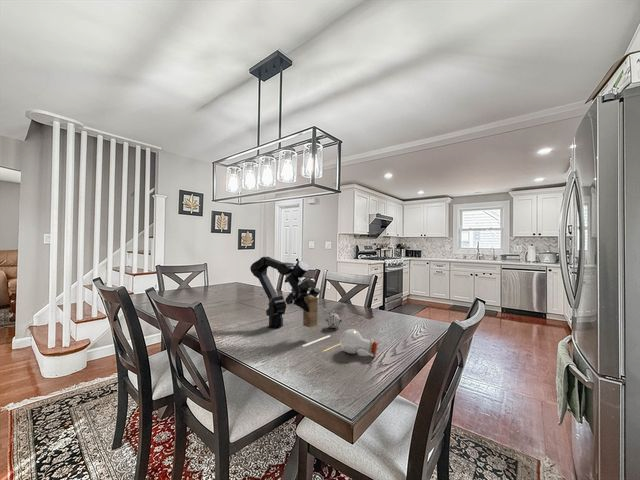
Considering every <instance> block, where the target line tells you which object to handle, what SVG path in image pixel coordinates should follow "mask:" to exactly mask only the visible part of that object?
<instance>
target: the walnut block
mask: <svg viewBox="0 0 640 480" xmlns="http://www.w3.org/2000/svg"><path fill="white" fill-rule="evenodd" d="M304 301H305V303H306V305H307V307H308V309H309V312H307V311H305V310H304V309H302V311H303V313H302V325H303V326H304V327H306V328H312V327H313V328H314V327H316V326H318V297H314V296H307V297H304Z"/></svg>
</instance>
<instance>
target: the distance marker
mask: <svg viewBox="0 0 640 480" xmlns="http://www.w3.org/2000/svg"><path fill="white" fill-rule="evenodd" d="M338 346H341V345H340V342H339V343H337V344H335V345H333V346H330V347H329V348H326V349H323V350H322V352H325V353H326V351H329V350H331V349H334V348H337V347H338Z"/></svg>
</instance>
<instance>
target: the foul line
mask: <svg viewBox="0 0 640 480" xmlns="http://www.w3.org/2000/svg"><path fill="white" fill-rule="evenodd" d="M330 337H331V335H329V334H328V335H326V336H323V337H321V338H317V339H315V340H313V341H310V342H308V343H304V344H302V345H301V346H302V347H303V348H305V347H307V346H309V345H313V344H315V343H318V342H319V341H323V340H325V339H327V338H330Z"/></svg>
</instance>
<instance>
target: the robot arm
mask: <svg viewBox="0 0 640 480" xmlns="http://www.w3.org/2000/svg"><path fill="white" fill-rule="evenodd" d="M269 267H270V268H272V269H275V270H276V271H277V272H278V273H279V274H280V275H282V276H286V277H285V279H284V283H288V284H289V285H290V287H291V289H290V291H291V292H289V293H288V295H287V296H286V298H284V296H283V295H278V293H277V292H276V289H275V288H274V286H273V284H272V282H271V280H270V278H269V276H268V274H267V273H268V268H269ZM249 268H250V272H251V273H252V275H253V276H254V277H255V278H257V279H258V280H259V283H260V284H261V286H262V288H263V290H264V292H265V294H266V297H267V298H268V308H267V310H266V311H265V313H266V314H265V315H266V316H268V325H267V328H271V329H280V328H281V327H283V326H284V318H283V315H285V314H286V309H287V305H291V304H293V305H294V306H297V307H299V308H300V309H302V310H303V309H304V310H305V311H307V312H309V309H308V307H307V305H306V303H305V301H304V297H307V296H314V297H317V296H319V294H320V293H321V290H320V288H319V287H317V288H316V287H315V285H316V280H315V279H314V278H310V279H308V280H304V281H302V278H303V277H304V276H305V275H306V273H308V272H309V270H310V266H309V264H307V263H306V262H303V261H302V260H300V259H299V260H297V261H296V264H294V263H292V262H282V261H280V260H277V259H274V258H272V257H271V256H262V257H260V258H259V259H257V260H256V261H254V262H253V263H251V265H250V267H249ZM287 275H288V276H287ZM314 287H315V288H314ZM310 288H312V289H310ZM317 298H318V297H317Z"/></svg>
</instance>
